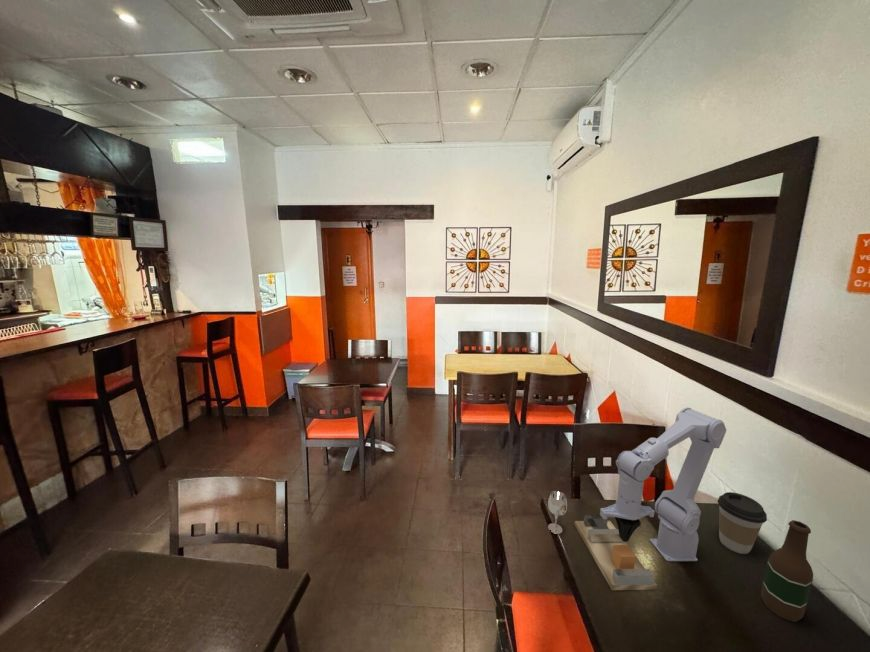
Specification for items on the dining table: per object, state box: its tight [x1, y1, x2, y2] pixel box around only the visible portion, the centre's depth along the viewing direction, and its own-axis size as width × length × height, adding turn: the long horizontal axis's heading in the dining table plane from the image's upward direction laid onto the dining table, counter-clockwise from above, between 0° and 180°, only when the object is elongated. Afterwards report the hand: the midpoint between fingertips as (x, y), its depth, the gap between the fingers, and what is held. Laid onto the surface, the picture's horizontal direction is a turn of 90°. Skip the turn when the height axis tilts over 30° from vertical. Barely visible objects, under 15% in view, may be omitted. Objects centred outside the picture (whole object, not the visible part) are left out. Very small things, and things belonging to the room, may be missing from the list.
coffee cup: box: [716, 491, 768, 555], centre depth 105 cm, size 11×11×15 cm
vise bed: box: [574, 520, 658, 591], centre depth 102 cm, size 12×23×2 cm, turn 2°
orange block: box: [612, 544, 637, 569], centre depth 95 cm, size 4×4×5 cm
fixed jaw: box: [612, 568, 656, 585], centre depth 91 cm, size 10×2×3 cm, turn 92°
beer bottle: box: [760, 519, 814, 623], centre depth 84 cm, size 8×8×24 cm
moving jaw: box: [583, 514, 623, 542], centre depth 108 cm, size 10×8×3 cm
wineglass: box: [547, 490, 568, 535], centre depth 110 cm, size 6×6×12 cm
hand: (623, 538), depth 95 cm, fingers closed
